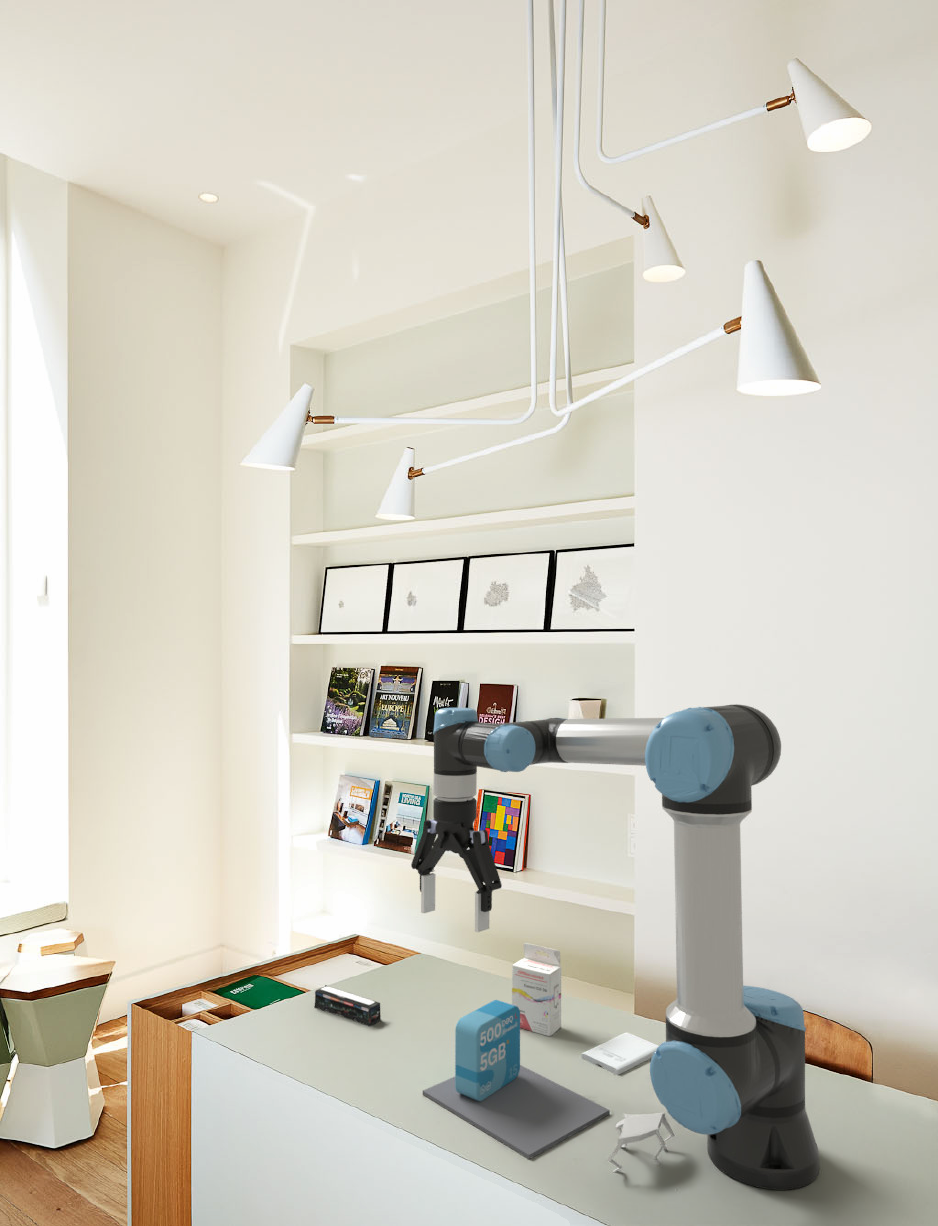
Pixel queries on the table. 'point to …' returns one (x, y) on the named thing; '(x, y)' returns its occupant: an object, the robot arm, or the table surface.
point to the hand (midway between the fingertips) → (454, 920)
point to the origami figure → (640, 1131)
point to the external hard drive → (620, 1053)
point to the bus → (347, 1005)
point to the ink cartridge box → (538, 989)
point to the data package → (487, 1049)
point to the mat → (522, 1111)
